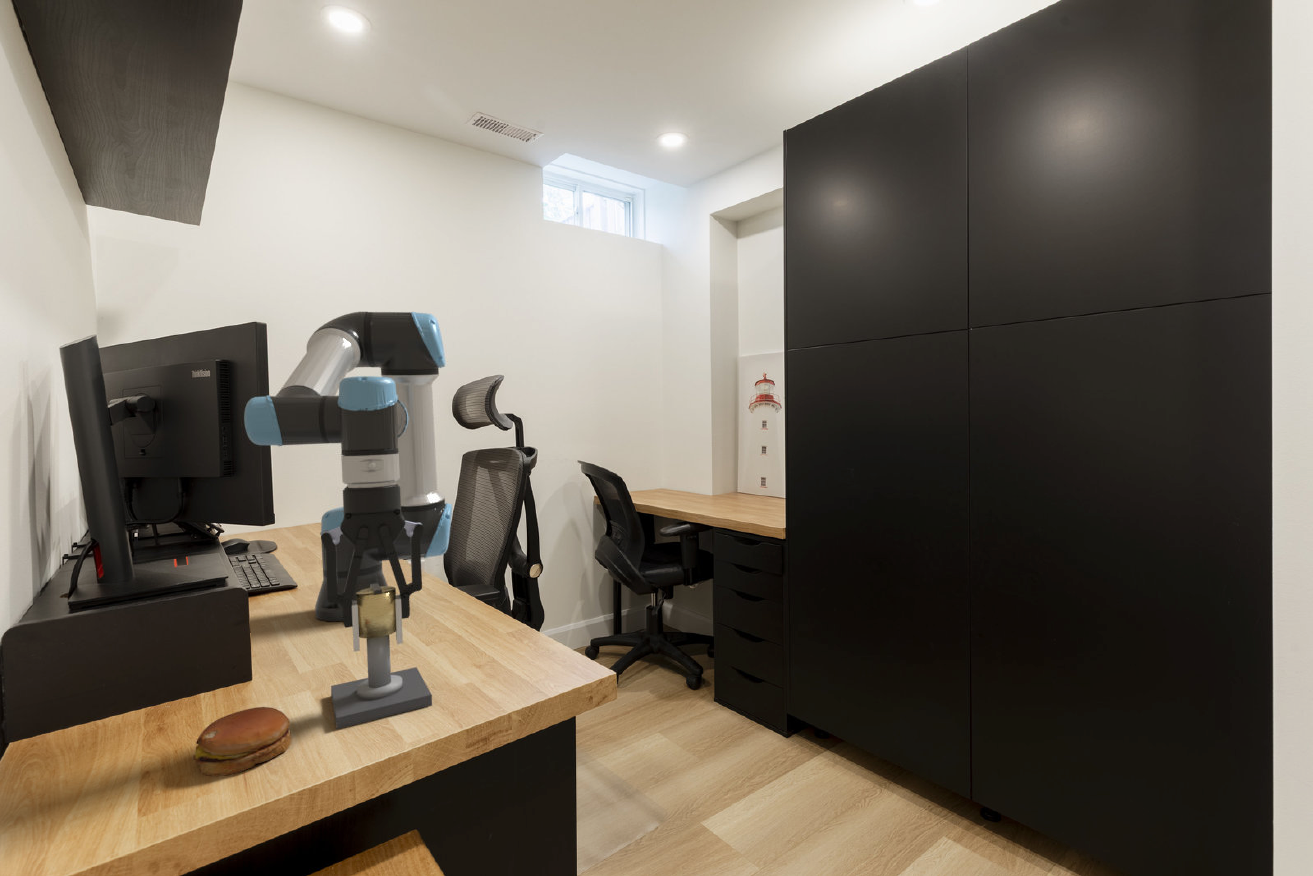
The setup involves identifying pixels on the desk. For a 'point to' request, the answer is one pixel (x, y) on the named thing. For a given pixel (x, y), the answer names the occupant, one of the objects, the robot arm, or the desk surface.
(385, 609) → the cap
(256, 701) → the desk surface
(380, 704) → the post block
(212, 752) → the burger
